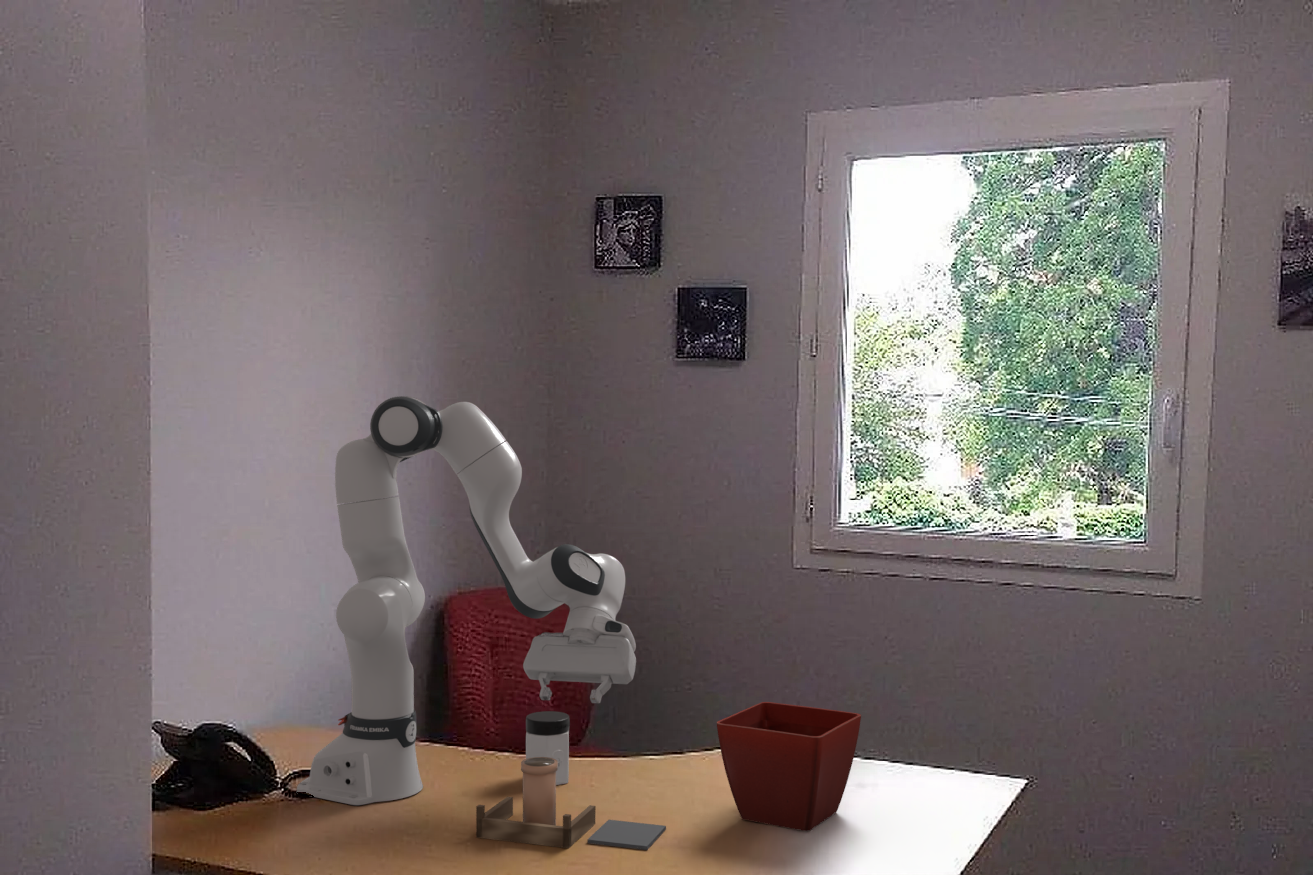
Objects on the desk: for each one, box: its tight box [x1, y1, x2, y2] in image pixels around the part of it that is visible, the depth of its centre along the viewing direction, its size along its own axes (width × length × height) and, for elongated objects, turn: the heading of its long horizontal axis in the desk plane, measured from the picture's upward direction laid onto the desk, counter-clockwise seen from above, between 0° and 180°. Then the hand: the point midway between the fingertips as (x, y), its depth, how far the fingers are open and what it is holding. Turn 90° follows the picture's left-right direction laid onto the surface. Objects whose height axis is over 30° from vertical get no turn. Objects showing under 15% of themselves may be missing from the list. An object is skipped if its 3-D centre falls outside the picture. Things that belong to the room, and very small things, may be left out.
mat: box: [586, 819, 667, 851], centre depth 193 cm, size 10×10×1 cm
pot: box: [520, 757, 558, 826], centre depth 197 cm, size 6×6×11 cm
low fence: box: [475, 796, 596, 849], centre depth 196 cm, size 16×12×5 cm
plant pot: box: [716, 701, 862, 832], centre depth 204 cm, size 19×19×17 cm
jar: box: [525, 710, 571, 786], centre depth 223 cm, size 9×8×12 cm
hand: (569, 700), depth 209 cm, fingers open, 8 cm apart
